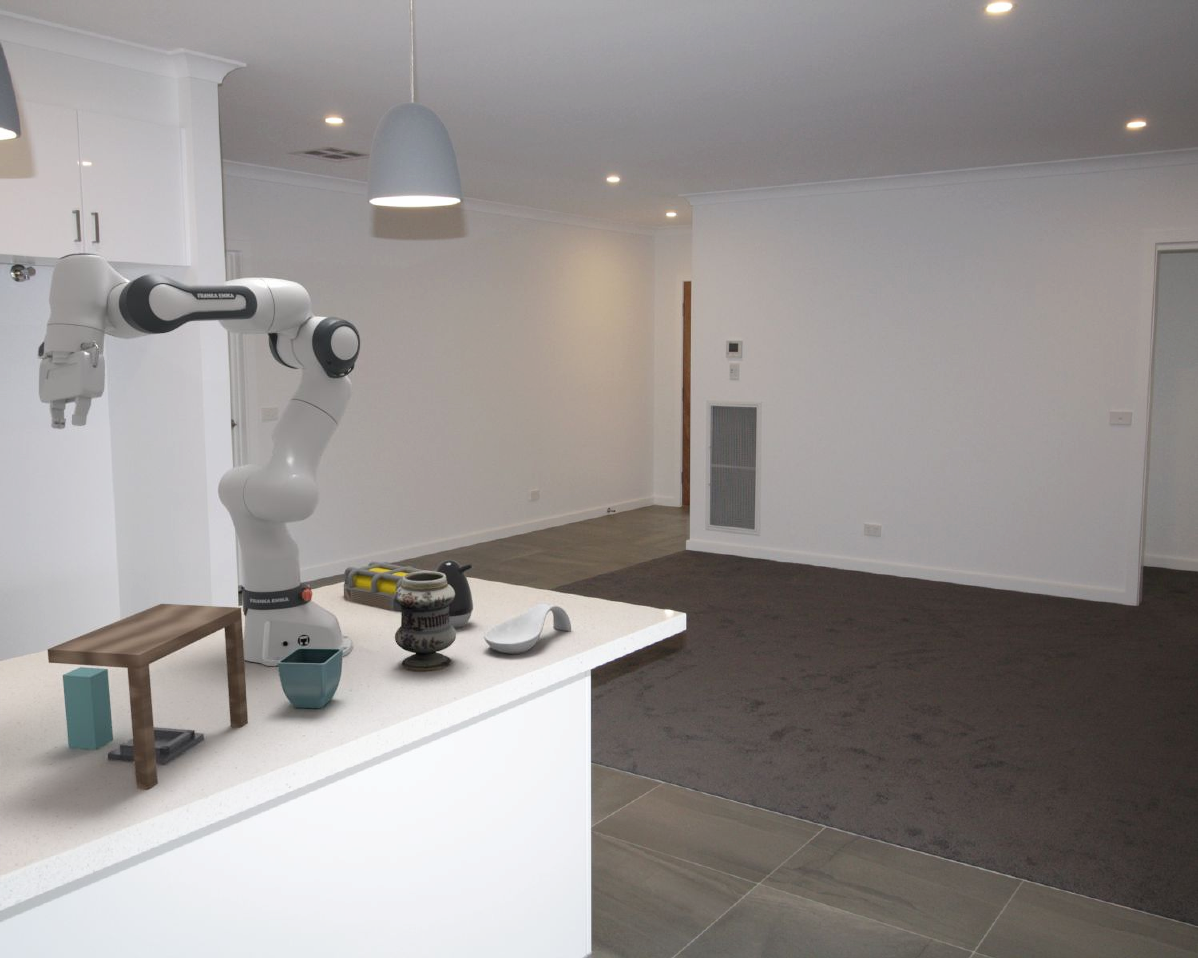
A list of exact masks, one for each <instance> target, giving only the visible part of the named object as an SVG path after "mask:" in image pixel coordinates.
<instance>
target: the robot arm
mask: <svg viewBox="0 0 1198 958" xmlns="http://www.w3.org/2000/svg"><path fill="white" fill-rule="evenodd" d="M48 303H49V307H50V313H49V318H48V320H47V323H46V331H45V332H46V334H45V335H44V339H43V341H42V343H41V344H40V345H39V346H38V349H37V355H36V356H37V358H38V359H40V360H41V361H40V364H39V372H38V396H39V399H40V402H41V403H42V404H48V405H49V413H50V416H51V426H50V427H51V428H52V429H55V430H56V429H57V430H63V429H65V428H66V422H67V420H66V418H65V410H66V404H71V403H74V404H75V406H74V413H73V414H72V415H71V416H72V417H71V425H73V426H77V427H84V426H86V424H87V417H88V414H89V411H90V409H91V406H92V399H97V398H101V397H103V394H104V392H105V391H104V390H105V386H106V385H105V383H106V382H105V381H106V380H105V379H106V362H105V356H104V348H105V344H104V343H105V335H108V336H112V337H115V338H119V339H124V340H129V339H130V340H131V339H137V338H141V337H146V336H151V335H157V334H167V333H171V332H173V331H174V330H177V329H178V328H180V327H182V326H183V325H185V324H187V323H190V322H209V321H213V322H214V321H217V322H219V324H220V325H221V326H222V328H224V329H225V330H226V331H227V332H229V333H234V334H240V335H264V334H265V335H266V334H267V336H268V346H269V350H270V353H271V354H272V357H273V358H274V360H276V362H278V363H279V364H280V365H282V366H284V367H286V368H289V369H292V370H293V369H294V370H299V369H300V370H301V378H300V383H299V386H298V387H297V389H296V391H295V392H294V394H293V395H292V396H291V398H290V400H289V401H288V403H287V405H285V408H284V410H283V412H282V413H281V414H280V416H279V418H278V420H277V421H276V423H275V425H274V427H273V429H272V430H271V439H272V442H273V447H272V448H273V449H272V452H271V456H270V459H269V460H268V462H267V463H266V465H260V464H253V463H248V464H244V465H238V466H235V467H232V468H230V469H228V470H227V471H226V472H224V474H223V475H222V476H221V477H220V480H219V482H218V487H217V493H218V494H217V495H218V498H219V500H220V502H221V504H222V505H223V506H224V507H225V508H226V510H227V512H228V513H229V516H230V518H231V521H232V524H233V526H234V530H235V533H236V536H237V539H238V542H239V545H240V551H241V559H242V560H241V562H242V570H243V572H242V573H243V588H242V590H241V591H242V593H241V603H242V612H243V615H244V629H243V648H244V661H247V662H251V663H259V664H262V665H265V666H267V667H273V666H274V667H276V666H278V665H277V662H278V661H280V660H281V659H283V658H284V657H286V656H287V655H288V654H290V653H291V652H292V651H294V650H295V649H297V648H333V649H334V648H335V649H343V654H342V657H344V656H347V655H348V654H349V653H351V651H352V649H353V646H354V645H353V640H352V637H350V636H349V635H346V634H344V633H342V630H341V629H342V628H341V626H340V622H339V620H338V618H337V617H336V615H335V614H333V613H332V612H330V611H329V610H327V609H326V608H324V607H322V606H321V605H319V604H317V603H316V602H315V601H313V600H312V599H313V598H312V597H313V591H312V588H311V586H310V584H305V583H303V582H301V565H300V550H299V547H298V544H297V543H296V541H295V540H294V539H293V536H291V534H290V532H289V529H288V527H287V524H289V523H296V522H301V521H305V520H307V519H308V518H310V517H311V516H312V515H313V514H314V512H315V511H316V510H317V507H318V504H319V500H320V492H319V488H318V486H317V483H316V482H317V481H316V479H317V472H318V469H319V465H320V461H321V458H322V456H323V454H324V452H325V450H326V448H327V447H328V444H329V442H330V441H331V440H332V437H333V435H334V433H336V430H337V428H338V426H339V424H340V423H341V420H342V419H343V418H344V417H343V416H344V415H345V413H346V410H347V408H348V405H349V403H350V399H351V397H352V393H353V384H352V381H351V380H350V378H349V377H348V375H349V374H351V372H352V371H353V370H354V369H355V364H356V362H357V359H358V357H359V354H360V350H361V338H360V334H359V331H358V329H357V328H356V326H355V325H354V324H353V323H351V322H350V321H348V320H346V319H344V318H341V317H336V316H330V317H329V316H328V317H326V316H315V314H314V313H313V312H312V301H311V297H310V295H309V293H308V291H307V289H306V288H305V287H304V286H303V285H301V284H300V283H298V282H296V281H292V280H288V279H281V278H273V277H241V278H237V279H235V278H234V279H231V280H227V281H224V282H222V283H221V284H219V285H192V284H184V283H182V282H179V281H176V280H174V279H172V278H170V277H167V276H164V275H161V274H155V273H152V274H151V273H149V274H145V275H141V276H140V277H139V276H138V277H137V278H135V279H133V280H129V279H128V278H125V276H123V275H121V274H120V273H119V272H118V271H116V269H114V267H112V266H111V264H109V262H108V261H107V259H106V257H104V256H102V255H100V254H95V253H87V252H78V253H69V254H67V255H64V256H61V257H60V258H59V259H57V260H56V262H55V264H54V268H53V270H52V276H51V282H50V288H49V297H48Z"/></svg>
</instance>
